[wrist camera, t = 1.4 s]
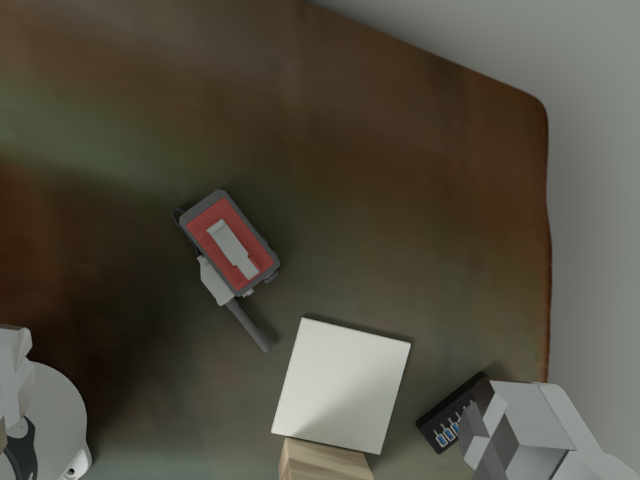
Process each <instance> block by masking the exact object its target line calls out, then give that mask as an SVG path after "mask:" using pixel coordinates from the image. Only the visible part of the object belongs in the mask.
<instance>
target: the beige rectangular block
mask: <svg viewBox="0 0 640 480" xmlns="http://www.w3.org/2000/svg"><path fill="white" fill-rule="evenodd" d="M278 477H279V480H374V478H373V475H372V473H371V471H370V468H369V466H368V464H367V461H366V459H365V457H364V454H363V453H362V452H357V451H352V450H347V449H342V448H338V447H333V446H328V445H323V444H318V443H313V442H308V441H303V440H298V439H294V438H289V437H286V439H285V443H284V446H283V450H282V454H281V457H280V461H279V465H278Z"/></svg>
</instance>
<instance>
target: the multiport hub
mask: <svg viewBox="0 0 640 480" xmlns="http://www.w3.org/2000/svg"><path fill="white" fill-rule="evenodd" d="M482 377H484V378H490V377H489V376H487V375H486V374H485V373H484V372H478V373H477V374H476V375H475V376H473V377H472V378H471V379H469V380H468V381H467V382H466V383H464V384H463V385H462V386H461V387H459V388H458V389H457V390H455V391H454V392H453V393H452V394H450V395H449V396H448V397H446V398H445V399H444V400H443V401H441V402H440V403H439V404H437V405H436V406H435V407H434V408H432V409H431V410H430V411H428V412H427V413H426V414H425V415H423V416H422V417H421V418H420V419H418V420H417V421H416V426H417V427H418V429H419V430H420V432H421V433H422V434H423V436H424V437H425V438H426V440H427V441H428V442H429V444H430V445H431V446H432V448H433V449H434V450H435V452H436V453H437V454H441V453H443V452H444V451H445V450H446V449H448V448H449V447H450V446H452V445H453V444H454V443H455V442H457V441H458V440H459V439H458V430H459V421H460V418H461V416H462V413H463V411H464V409H465V408H466V407H468V406H469V405H471V404H472V403H474V402H475V399H474V397H473V394H472V390H473V388H474V386H475V384H476V382H477V381H478V380H479V379H480V378H482Z"/></svg>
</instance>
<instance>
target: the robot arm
mask: <svg viewBox="0 0 640 480" xmlns="http://www.w3.org/2000/svg"><path fill="white" fill-rule="evenodd" d="M31 347H32V341H31V334H30V330H28V329H27V328H25V327H19V326H12V325H4V324H0V480H77V479H79V478H80V477H81V476H82V475H83V474H85V473H86V472H87V470H88V469H89V468H90V467H91V464H92V458H91V454H90V451H89V448H88V446H87V443H86V428H87V415H86V409H85V405H84V402H83V400H82V397H81V395H80V393H79V392H78V390H77V389H76V387H75V386H74V385H73V383H72V382H71V381H70V380H69V379H68V378H67V377H65V376H64V375H63V374H62V373H60V372H59V371H57V370H55V369H53V368H51V367H49V366H47V365H44V364H41V363H37V362H32V361H29V360H28V359H27V358H26V357H25V356H26V355H27V353H28V352H29V350H30V349H31ZM472 394H473V397H474V399H475V402H474V403H472V404H471V405H469V406H468V407H466V408H465V409H464V411H463V413H462V416H461V418H460V421H459V430H458V439H459V446H460V450H461V453H462V456H463V459H464V460H465V461H466V462H467V463H468V464H469V465H470V466H471V467H472V468H473V469H474V470H475V471H474V474H473V476H472V479H471V480H640V476H639V475H638V474H637V473H635V472H634V471H633V470H631V469H630V468H629V467H627V466H626V465H625V464H623V463H622V462H621V461H620V460H618V459H617V458H616V457H614V456H613V455H609V454H604V453H603V452H602V450H601V448H600V447H599V445H598V443H597V442H596V440H595V439H594V437H593V436H592V434H591V432H590V431H589V430H588V428H587V426H586V425H585V423H584V421H583V420H582V418H581V417H580V415H579V414H578V412H577V410H576V409H575V407H574V406H573V404H572V403H571V401H570V399H569V398H568V396H567V395H566V393H565V392H564V390H563V389H562V388H561V387H559V386H558V385H557V384H549V383H538V382H523V381H513V380H503V379H494V378H484V377H482V378H480V379H479V380H478V381H477V382H476V384H475V386H474V388H473V390H472ZM70 468H72V469H74V471H75V472H70V471H69V469H70Z"/></svg>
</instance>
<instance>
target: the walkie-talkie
mask: <svg viewBox="0 0 640 480" xmlns="http://www.w3.org/2000/svg"><path fill="white" fill-rule="evenodd" d="M177 211H180V212H181V213H182V214H183V215H181V216H180V221H178V220H177V218H176V217H175V212H177ZM243 214H244V213H242V212H241V209H239V208H238V205H236V204H235V201H233V200H232V198H231V197H230V196H229V194H227V191H224V190H219V189H217V190H215V191H214V192H213V193H211V194H210V195H208V196H207V197H206V198H204V199H203V200H202V201H200V202H199V203H198V204H196V205H195V206H194V207H192V208H191V209H190V210H188V211H187V212H185V211H184V210H183V209H182V208H176V209H173V210H172V212H171V217H172V219H173V221H174V222H175V223H176V225H177V226H178V227H179V228H180V230H181V231H182V232H183V233H184V235H185V236H186V237H187V239H188V240H189V241H190V242H191V244H192V245H193V246H194V248H195V251H196V254H197V256H198V257H197V260H198V261H199V262H200V264H201V281H202V282H203V283H204V285H205V286H206V287H207V288H208V290H209V291H210V292H211V293H212V295H213V296H214V297H215V299H216V301H217V303H218V304H219V305H220V306H222V305H223V304H225V305H226V307H227V308H228V309H229V310H230V311H232V312H233V314H234V315H235V316H236V317H237V319H238V320H239V321H240V322H241V324H242V325H243V326H244V327H245V329H246V330H247V331H248V332H249V334H250V335H251V336H252V337H253V339H254V340H255V341H256V342H257V344H258V345H259V346H260V347H261V349H262V350H263V351H264V352H266V353H267V352H269V351H270V350H271V346H270V345H269V343H268V342H267V341H266V340H265V338H264V337H263V336H262V335H261V333H260V332H259V331H258V329H257V328H256V327H255V326H254V324H253V323H252V322H251V321H250V319H249V318H248V317H247V316H246V314H245V313H244V312H243V310H242V309H241V308H240V307H239V304H238V302H237V301H236V300H235V299H234V296H238V297H240V296H243V297H245V296H247V295H250V294H252V293H253V292H254V290H253V289H252V288H253V287H254V286H255V285H256V284H258V283H259V282H260V281H262V280H263V282H264V283H265V284H267V283H269V282H270V281H272V280H273V279H274V278H276V277H277V276H278V274H279V272H278V271H277V270H276V269H277V268H279V267H280V261H279V259H278V258H279V257H278V255H277V254H276V253H275V251H273V250H271V248H270V247H269V246H268V242H267V241H266V240H265V238H264V237H261V235H260V234H259V233H258V231H256V230H255V228H254V227H253V226H252V224H250V222H249V220H247V217H246V216H244V215H243ZM199 249H200V252H202V253H203V255H202V254H200V253H199Z"/></svg>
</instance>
